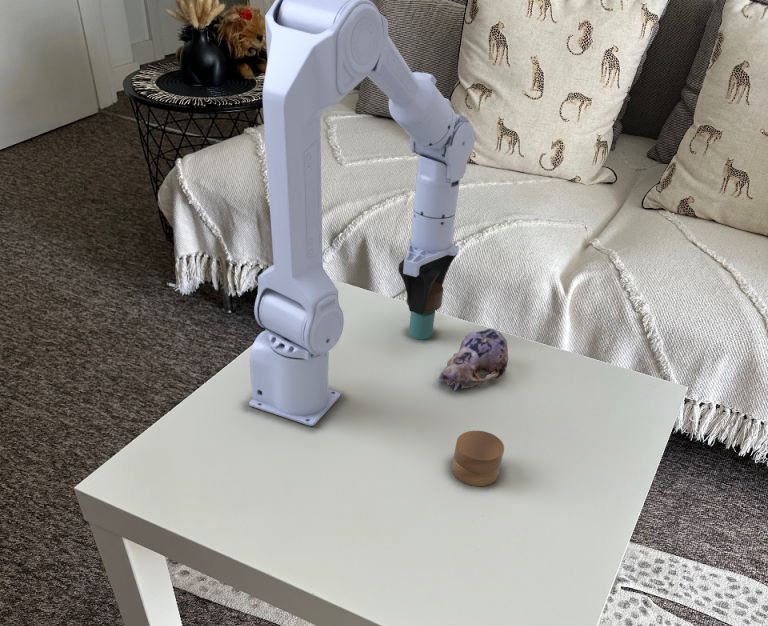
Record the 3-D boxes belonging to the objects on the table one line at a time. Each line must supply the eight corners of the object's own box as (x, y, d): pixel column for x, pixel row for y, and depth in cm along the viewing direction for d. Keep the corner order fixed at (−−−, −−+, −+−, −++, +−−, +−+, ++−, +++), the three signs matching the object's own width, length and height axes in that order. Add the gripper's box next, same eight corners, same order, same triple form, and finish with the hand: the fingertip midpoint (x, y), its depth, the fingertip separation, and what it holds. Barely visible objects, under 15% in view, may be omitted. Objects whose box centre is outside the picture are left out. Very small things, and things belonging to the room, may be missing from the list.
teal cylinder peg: (405, 335, 107) (407, 311, 105) (414, 325, 110) (416, 301, 107) (427, 342, 106) (430, 317, 104) (435, 331, 109) (438, 307, 106)
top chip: (447, 464, 83) (449, 450, 81) (463, 438, 86) (465, 425, 85) (492, 479, 81) (496, 465, 80) (507, 452, 85) (510, 439, 84)
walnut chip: (400, 305, 104) (402, 289, 102) (414, 291, 107) (415, 276, 105) (433, 315, 102) (435, 298, 101) (446, 300, 106) (448, 284, 104)
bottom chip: (445, 477, 84) (447, 464, 83) (461, 451, 88) (463, 438, 86) (490, 492, 83) (492, 479, 81) (504, 465, 86) (507, 452, 85)
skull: (457, 399, 95) (460, 356, 91) (418, 379, 100) (421, 338, 96) (517, 376, 101) (522, 335, 98) (478, 358, 106) (482, 319, 103)
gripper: (443, 235, 89) (431, 332, 99) (479, 200, 99) (465, 291, 109) (392, 223, 91) (385, 319, 101) (432, 189, 101) (422, 279, 110)
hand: (423, 303), depth 105 cm, fingers closed on walnut chip, 5 cm apart
